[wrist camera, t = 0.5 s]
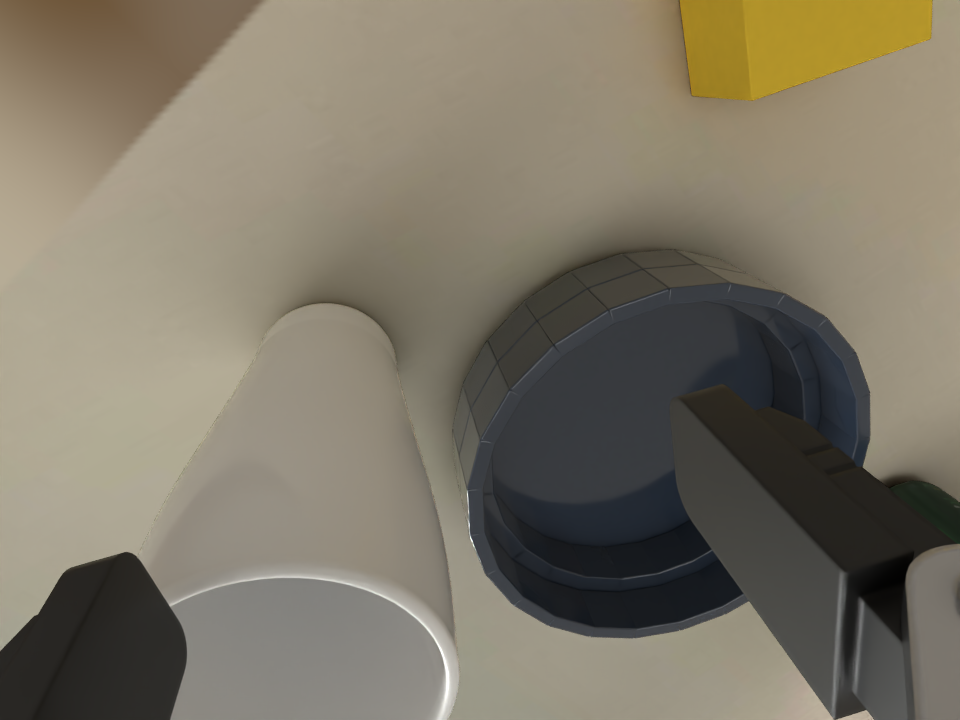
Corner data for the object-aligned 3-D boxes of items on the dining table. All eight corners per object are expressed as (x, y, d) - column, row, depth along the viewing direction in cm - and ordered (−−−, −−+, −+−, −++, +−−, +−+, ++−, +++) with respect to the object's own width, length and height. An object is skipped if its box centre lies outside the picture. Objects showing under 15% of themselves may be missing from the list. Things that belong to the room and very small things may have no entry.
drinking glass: (203, 369, 24) (-4, 747, 11) (315, 243, 23) (239, 493, 9) (340, 460, 27) (313, 852, 13) (448, 352, 25) (536, 668, 12)
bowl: (398, 324, 25) (405, 380, 20) (779, 191, 25) (869, 217, 20) (507, 599, 32) (530, 685, 27) (802, 493, 32) (872, 561, 28)
